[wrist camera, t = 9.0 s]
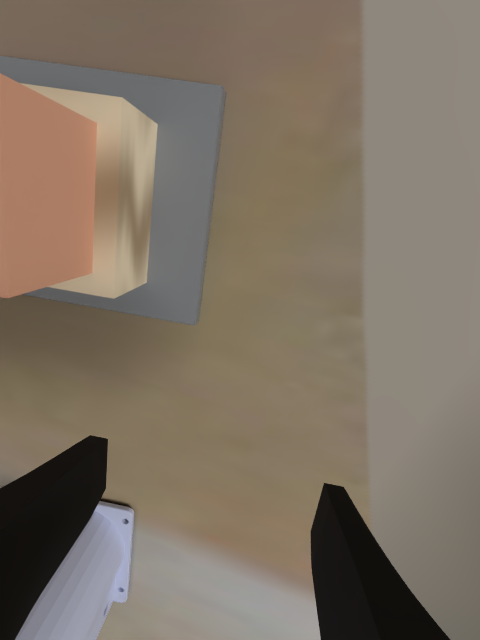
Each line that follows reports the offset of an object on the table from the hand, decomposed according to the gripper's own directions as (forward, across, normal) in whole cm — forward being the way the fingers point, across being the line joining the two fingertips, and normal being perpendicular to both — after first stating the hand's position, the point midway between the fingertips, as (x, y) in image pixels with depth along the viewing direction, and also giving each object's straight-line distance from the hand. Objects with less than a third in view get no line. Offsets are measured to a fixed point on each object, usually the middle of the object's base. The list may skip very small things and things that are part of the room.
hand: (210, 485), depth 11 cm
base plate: (+10, +9, -8) cm, 16 cm away
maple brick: (+9, +9, -8) cm, 15 cm away
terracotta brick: (+5, +9, -8) cm, 13 cm away
